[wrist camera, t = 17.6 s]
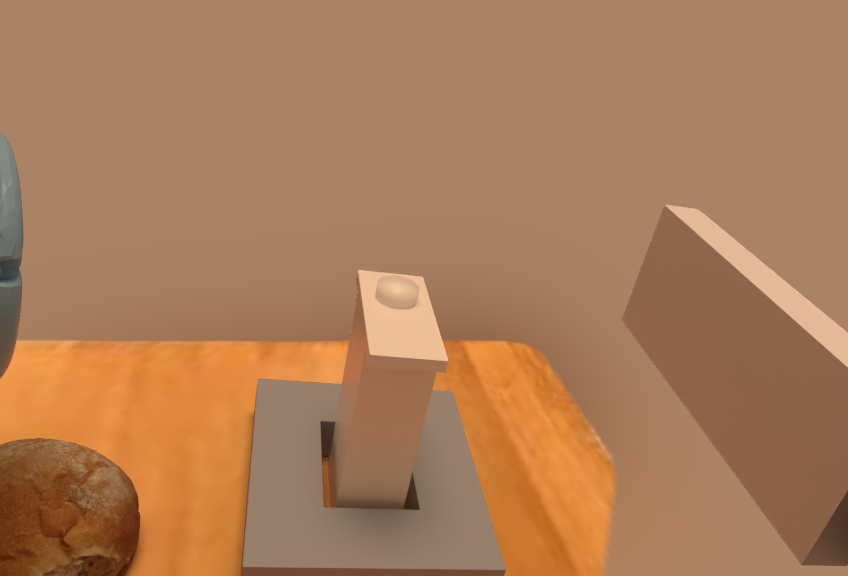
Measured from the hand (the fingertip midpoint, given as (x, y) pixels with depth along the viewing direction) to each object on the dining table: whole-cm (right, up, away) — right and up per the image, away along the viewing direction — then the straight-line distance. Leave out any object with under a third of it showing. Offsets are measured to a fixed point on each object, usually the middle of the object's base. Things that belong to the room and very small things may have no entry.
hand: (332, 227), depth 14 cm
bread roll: (-19, -15, +25) cm, 35 cm away
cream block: (-2, -15, +33) cm, 36 cm away
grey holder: (-2, -15, +33) cm, 36 cm away
